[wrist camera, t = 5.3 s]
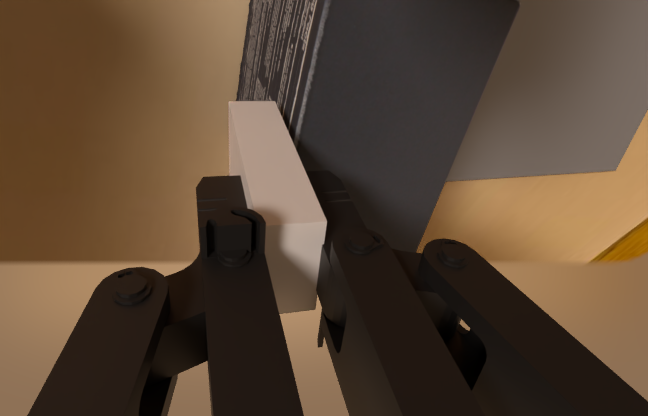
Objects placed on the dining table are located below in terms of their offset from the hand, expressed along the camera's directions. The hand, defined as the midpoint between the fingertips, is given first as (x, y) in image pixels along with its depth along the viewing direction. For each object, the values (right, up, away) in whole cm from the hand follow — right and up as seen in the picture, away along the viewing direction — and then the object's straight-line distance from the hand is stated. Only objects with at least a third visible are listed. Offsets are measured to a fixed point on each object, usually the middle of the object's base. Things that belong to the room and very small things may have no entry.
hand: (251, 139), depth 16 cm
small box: (+2, +6, +8) cm, 10 cm away
